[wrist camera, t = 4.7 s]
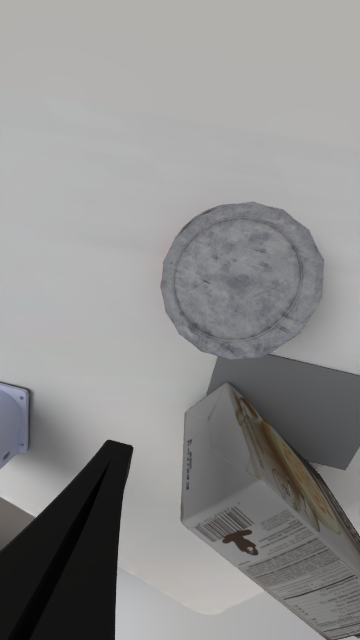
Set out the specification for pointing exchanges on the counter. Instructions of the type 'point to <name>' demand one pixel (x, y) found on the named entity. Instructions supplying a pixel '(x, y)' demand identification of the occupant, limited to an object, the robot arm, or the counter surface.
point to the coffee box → (269, 513)
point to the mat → (300, 403)
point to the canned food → (241, 280)
